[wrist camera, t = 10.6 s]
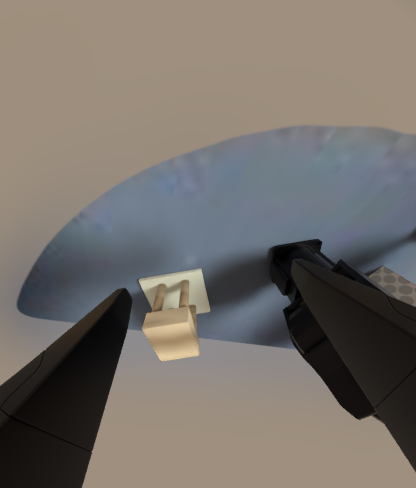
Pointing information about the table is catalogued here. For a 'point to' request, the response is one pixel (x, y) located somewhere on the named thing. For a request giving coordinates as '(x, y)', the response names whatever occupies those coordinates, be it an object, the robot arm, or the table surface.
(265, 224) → the table surface
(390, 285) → the box
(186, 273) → the mat
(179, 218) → the table surface
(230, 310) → the table surface
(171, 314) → the tan block with pegs
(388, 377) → the robot arm
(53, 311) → the table surface
